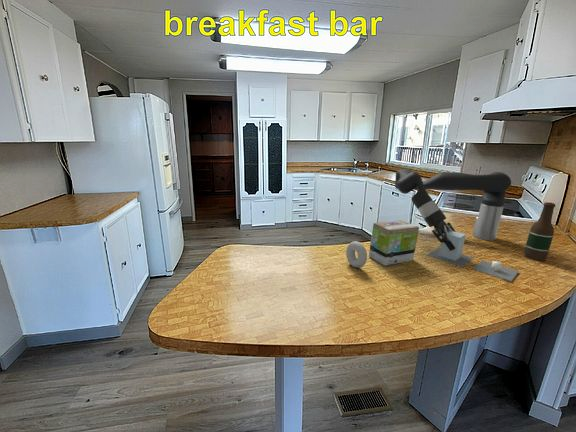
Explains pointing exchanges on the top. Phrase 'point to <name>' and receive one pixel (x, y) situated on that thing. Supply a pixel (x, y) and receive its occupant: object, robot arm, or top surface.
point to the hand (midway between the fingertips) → (456, 247)
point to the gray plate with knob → (496, 270)
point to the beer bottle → (540, 235)
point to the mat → (460, 262)
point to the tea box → (393, 242)
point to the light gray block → (458, 243)
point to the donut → (361, 254)
